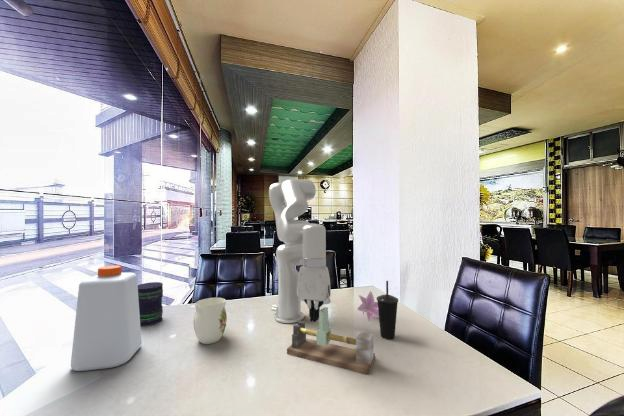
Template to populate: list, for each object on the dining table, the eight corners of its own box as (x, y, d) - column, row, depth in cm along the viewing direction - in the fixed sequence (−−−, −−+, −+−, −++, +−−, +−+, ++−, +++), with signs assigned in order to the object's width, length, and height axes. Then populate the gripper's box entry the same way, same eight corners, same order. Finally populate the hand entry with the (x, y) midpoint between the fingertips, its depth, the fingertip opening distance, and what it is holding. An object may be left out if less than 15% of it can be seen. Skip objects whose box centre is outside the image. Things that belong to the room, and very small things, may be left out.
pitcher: (232, 326, 104) (232, 291, 104) (220, 350, 86) (220, 307, 86) (203, 327, 103) (204, 292, 103) (185, 351, 85) (185, 308, 86)
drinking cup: (400, 342, 91) (399, 284, 91) (377, 340, 92) (376, 283, 93) (397, 332, 98) (396, 278, 99) (376, 331, 100) (375, 277, 100)
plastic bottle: (145, 343, 91) (146, 261, 92) (124, 368, 76) (125, 270, 77) (95, 348, 88) (96, 263, 88) (62, 375, 73) (64, 273, 74)
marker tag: (316, 344, 82) (316, 310, 82) (322, 338, 86) (322, 306, 86) (325, 346, 81) (325, 312, 81) (330, 340, 85) (330, 307, 85)
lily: (352, 323, 110) (361, 306, 106) (350, 303, 121) (358, 287, 117) (379, 331, 111) (389, 314, 107) (374, 310, 122) (383, 294, 118)
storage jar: (129, 324, 107) (129, 287, 107) (151, 315, 116) (152, 281, 116) (145, 328, 103) (146, 289, 104) (168, 318, 112) (168, 283, 113)
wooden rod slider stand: (286, 353, 84) (286, 326, 84) (300, 341, 92) (300, 316, 92) (368, 374, 73) (367, 343, 73) (375, 358, 81) (374, 330, 81)
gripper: (288, 263, 85) (288, 320, 85) (331, 266, 79) (331, 329, 78) (299, 259, 92) (299, 312, 91) (340, 262, 85) (340, 320, 85)
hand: (314, 320), depth 85 cm, fingers closed
